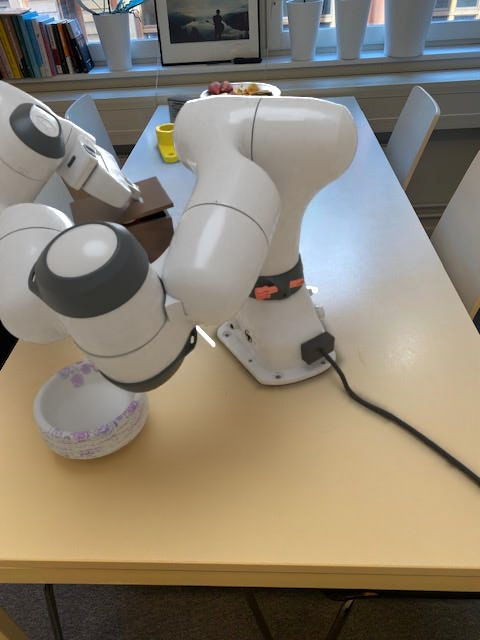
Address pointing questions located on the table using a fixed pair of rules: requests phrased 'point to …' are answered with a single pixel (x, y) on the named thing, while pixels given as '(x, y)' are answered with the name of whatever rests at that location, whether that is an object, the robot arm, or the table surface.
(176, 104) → the small box
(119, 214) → the tote lid
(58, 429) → the paper bowls
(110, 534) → the table surface
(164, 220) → the box
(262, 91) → the bowl
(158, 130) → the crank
